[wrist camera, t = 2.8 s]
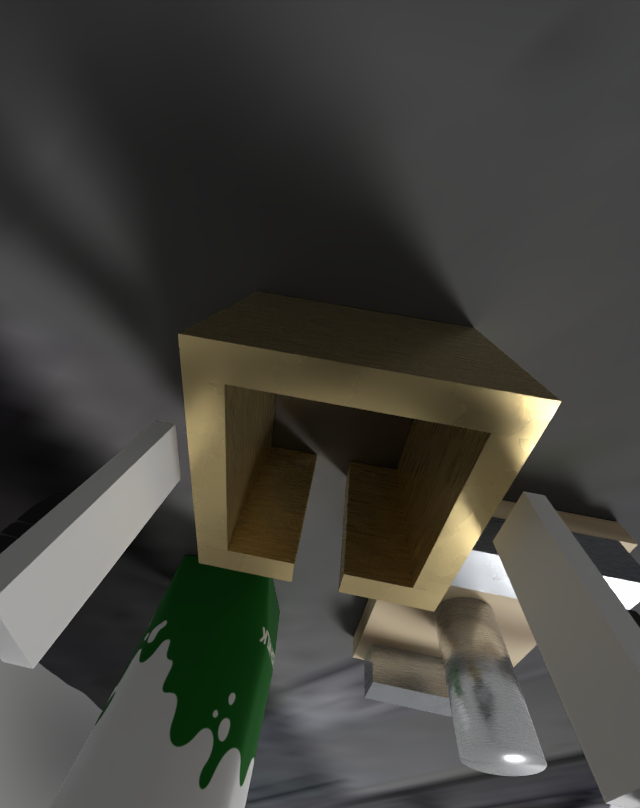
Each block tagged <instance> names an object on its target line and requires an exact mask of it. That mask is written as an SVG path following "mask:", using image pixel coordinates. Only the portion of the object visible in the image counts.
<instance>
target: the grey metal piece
mask: <svg viewBox="0 0 640 808" xmlns="http://www.w3.org/2000/svg"><path fill="white" fill-rule="evenodd" d="M505 521H506V519H503V518H498V517H491V519H490V521H489V522H488V524H487V525H486V527H485V529H484V530H483V532H482V534H481V535H480V537H479V539H478V540H477V542H476V544H475V545H474V547H473V549H472V550H471V552H470V554H469V555H468V557H467V559H466V560H465V562H464V564H463V565H462V567H461V568H460V570H459V572H458V573H457V575H456V577H455V578H454V580H453V582H452V583H451V586H456V587H461V588H466V589H471V590H476V591H481V592H486V593H491V594H496V595H501V596H506V597H511V598H516V599H517V597H516V594H515V592H514V590H513V587H512V585H511V583H510V580H509V578H508V576H507V573H506V571H505V569H504V567H503V564H502V562H501V560H500V557H499V555H498V553H497V550H496V548H495V546H494V543H493V540H494V538H495V537H496V535H497V534H498V532H499V530H500V529H501V527H502V525H503V524H504V522H505ZM571 533H572V534H573V535H574V537H575V538H576V540H577V541H578V542H579V544H580V545H581V547H582V548H583V549H584V551H585V552H586V554H587V555H588V556H589V558H590V559H591V561H592V562H593V563H594V565H595V566H596V568H597V569H598V570H599V572H600V573H601V575H602V576H603V577H604V579H605V580H606V581H607V583H608V584H609V586H610V587H611V588H612V590H613V591H614V593H615V594H616V595H617V597H618V598H619V600H620V601H621V602H622V604H623V605H624V607H625V608H626V609H628V610H630V609H631V608H632V607H633V606H635V605H636V604H637V603H638V602H639V601H640V565H639V564H638V563H637V562H636V561H635V559H634V558H633V557H632V556H631V555H630V553H629V552H628V551H627V550H626V549H625V547H624V546H623V545H622V544H621V543H620V541H617V540H612V539H606V538H601V537H596V536H591V535H586V534H581V533H575V532H571ZM433 615H434V620H435V625H436V631H437V636H438V642H439V647H440V653H441V658H440V657H435V656H431V655H426V654H421V653H417V652H412V651H407V650H402V649H398V648H393V647H388V646H384V645H379V644H374V643H372V645H371V647H370V649H369V651H368V653H367V655H366V658H365V698H368V699H372V700H377V701H382V702H386V703H391V704H395V705H400V706H404V707H409V708H413V709H418V710H423V711H427V712H432V713H436V714H441V715H445V716H450V717H452V718H453V723H454V729H455V734H456V739H457V745H458V750H459V756H460V760H461V761H462V763H463V764H465V765H466V766H468V767H470V768H472V769H475V770H477V771H481V772H485V773H489V774H495V775H503V776H525V775H532V774H536V773H539V772H541V771H543V770H545V768H546V767H547V763H546V761H545V758H544V755H543V752H542V749H541V746H540V743H539V740H538V737H537V735H536V732H535V729H534V726H533V723H532V720H531V717H530V714H529V711H528V709H527V706H526V703H525V700H524V697H523V694H522V691H521V688H520V685H519V682H518V680H517V677H516V674H515V671H514V668H513V665H512V662H511V659H510V656H509V654H508V651H507V648H506V645H505V642H504V639H503V636H502V633H501V630H500V628H499V625H498V622H497V619H496V616H495V613H494V610H493V608H492V607H491V606H490V605H489V604H488V603H486V602H484V601H482V600H479V599H476V598H471V597H455V598H450V599H447V600H444V601H442V602H440V603H439V605H438V606H437V608H436V610H435V611H433Z"/></svg>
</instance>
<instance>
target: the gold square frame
mask: <svg viewBox="0 0 640 808" xmlns="http://www.w3.org/2000/svg"><path fill="white" fill-rule="evenodd" d="M178 341H179V351H180V362H181V373H182V384H183V395H184V406H185V417H186V428H187V439H188V449H189V460H190V471H191V482H192V493H193V504H194V515H195V526H196V537H197V547H198V558H199V563H201V564H206V565H211V566H216V567H221V568H226V569H231V570H235V571H240V572H245V573H250V574H255V575H260V576H264V577H269V578H274V579H279V580H284V581H289V582H292V577H293V572H294V567H295V562H296V557H297V553H298V548H299V543H300V538H301V533H302V528H303V524H304V519H305V514H306V509H307V504H308V499H309V495H310V490H311V485H312V480H313V475H314V470H315V465H316V459H317V455H315V454H310V453H305V452H299V451H294V450H289V449H284V448H278V447H273V446H272V441H273V428H274V415H275V402H276V394H281V395H287V396H292V397H298V398H303V399H309V400H314V401H320V402H325V403H331V404H336V405H342V406H347V407H352V408H358V409H363V410H369V411H374V412H380V413H385V414H391V415H396V416H402V417H407V418H413V419H414V420H413V423H412V426H411V428H410V431H409V434H408V437H407V440H406V443H405V446H404V449H403V452H402V455H401V458H400V460H399V463H398V466H397V469H396V470H394V469H389V468H384V467H379V466H373V465H368V464H363V463H357V462H352V461H350V464H349V468H348V473H347V477H346V491H345V505H344V520H343V534H342V548H341V563H340V577H339V591H338V592H342V593H347V594H351V595H356V596H361V597H366V598H371V599H376V600H380V601H385V602H390V603H395V604H400V605H405V606H409V607H414V608H419V609H424V610H429V611H435V610H436V608H437V606H438V605H439V603H440V602H441V600H442V598H443V597H444V595H445V593H446V592H447V590H448V588H449V587H450V585H451V583H452V582H453V580H454V578H455V577H456V575H457V573H458V572H459V570H460V568H461V567H462V565H463V564H464V562H465V560H466V559H467V557H468V555H469V554H470V552H471V550H472V549H473V547H474V545H475V544H476V542H477V540H478V539H479V537H480V535H481V534H482V532H483V530H484V529H485V527H486V525H487V524H488V522H489V521H490V519H491V517H492V516H493V514H494V512H495V511H496V509H497V507H498V506H499V504H500V502H501V501H502V499H503V497H504V496H505V494H506V492H507V491H508V489H509V487H510V486H511V484H512V483H513V481H514V479H515V478H516V476H517V474H518V473H519V471H520V469H521V468H522V466H523V464H524V463H525V461H526V459H527V458H528V456H529V454H530V453H531V451H532V449H533V448H534V446H535V445H536V443H537V441H538V440H539V438H540V436H541V435H542V433H543V431H544V430H545V428H546V426H547V425H548V423H549V421H550V420H551V418H552V416H553V415H554V413H555V411H556V410H557V408H558V407H559V405H560V403H561V402H562V401H560V400H559V399H558V398H557V397H556V396H554V395H553V394H552V393H551V392H550V391H549V390H547V389H546V388H545V387H544V386H543V385H541V384H540V383H539V382H538V381H537V380H536V379H534V378H533V377H532V376H531V375H530V374H528V373H527V372H526V371H525V370H524V369H522V368H521V367H520V366H519V365H518V364H517V363H515V362H514V361H513V360H512V359H511V358H509V357H508V356H507V355H506V354H505V353H504V352H502V351H501V350H500V349H499V348H498V347H496V346H495V345H494V344H493V343H492V342H491V341H489V340H488V339H487V338H486V337H485V336H483V335H482V334H481V333H480V332H479V331H477V330H476V329H475V328H472V327H466V326H460V325H454V324H448V323H442V322H436V321H430V320H425V319H419V318H413V317H407V316H401V315H395V314H389V313H383V312H377V311H372V310H366V309H360V308H354V307H348V306H342V305H336V304H330V303H324V302H318V301H313V300H307V299H301V298H295V297H289V296H283V295H277V294H271V293H265V292H259V291H256V292H255V293H253V294H251V295H249V296H247V297H245V298H243V299H242V300H240V301H238V302H236V303H234V304H232V305H230V306H228V307H227V308H225V309H223V310H221V311H219V312H217V313H215V314H214V315H212V316H210V317H208V318H206V319H204V320H202V321H200V322H199V323H197V324H195V325H193V326H191V327H189V328H187V329H186V330H184V331H182V332H180V333H178Z"/></svg>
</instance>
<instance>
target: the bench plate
mask: <svg viewBox="0 0 640 808" xmlns="http://www.w3.org/2000/svg"><path fill="white" fill-rule="evenodd" d="M515 504H516V503H515V502H510V501H504V500H502V501H501V502H500V504H499V506H498V507H497V509H496V511H495V512H494V514H493V516H492V517H498V518H503V519H507V517H508V516H509V514H510V512H511V511H512V509H513V508H514V506H515ZM556 512H557V513H558V514H559V516H560V517H561V519H562V520H563V521H564V523H565V524H566V526H567V527H568V528H569V530H570V531H571V532H575V533H581V534H586V535H591V536H596V537H601V538H606V539H612V540H617V541H620V543H621V544H622V545H623V546H624V547H625V549H626V550H627V551H628V552H629V553H630V552H631V551H632V550H633V549H634V548H635V547H636V546H637V545H638V544H637V543H636V542H635V541H634V540H633V538H632V537H631V536H630V535H629V534H628V533H627V532H626V531H625V529H624V528H623V527H622V526H621V525H620V524H619V523H618V522H615V521H610V520H604V519H599V518H594V517H589V516H583V515H578V514H573V513H568V512H562V511H557V510H556ZM455 597H471V598H476V599H479V600H482V601H484V602H486V603H488V604H489V605H490V606H491V607H492V608H493V610H494V613H495V616H496V619H497V622H498V625H499V628H500V630H501V633H502V636H503V639H504V642H505V645H506V648H507V651H508V654H509V656H510V659H511V662H512V665H513V667H514V666H515V665H516V664H517V663H518V662H519V661H520V660H521V659H522V658H523V657H524V656H525V655H526V654H528V653H529V652H530V651H531V650H532V649H533V648H534V647H535V646H536V645H537V643H536V641H535V638H534V636H533V634H532V632H531V629H530V627H529V625H528V622H527V620H526V618H525V615H524V613H523V611H522V608H521V606H520V604H519V601H518V599H516V598H511V597H506V596H501V595H496V594H491V593H486V592H481V591H476V590H471V589H466V588H461V587H456V586H451V585H450V587H449V588H448V590H447V592H446V593H445V595H444V597H443V598H442V600H441V602H442V601H444V600H447V599H450V598H455ZM372 643H374V644H379V645H384V646H388V647H393V648H398V649H402V650H407V651H412V652H417V653H421V654H426V655H431V656H435V657H440V658H441V653H440V647H439V642H438V636H437V631H436V625H435V620H434V615H433V611H429V610H424V609H419V608H414V607H409V606H405V605H400V604H395V603H390V602H385V601H380V600H376V599H371V598H369V599H368V602H367V604H366V607H365V609H364V612H363V615H362V617H361V620H360V622H359V625H358V627H357V630H356V632H355V635H354V638H353V657H354V658H359V659H363V660H365V658H366V655H367V653H368V651H369V649H370V647H371V645H372Z"/></svg>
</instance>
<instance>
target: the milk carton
mask: <svg viewBox="0 0 640 808" xmlns="http://www.w3.org/2000/svg"><path fill="white" fill-rule="evenodd" d="M279 613H280V611H279V606H278V601H277V597H276V592H275V587H274V583H273V578H269V577H264V576H260V575H255V574H250V573H245V572H240V571H235V570H231V569H226V568H221V567H216V566H211V565H206V564H201V563H199V558H198V556H190V555H184V557H183V559H182V561H181V563H180V565H179V567H178V569H177V571H176V573H175V575H174V577H173V579H172V581H171V583H170V585H169V587H168V589H167V591H166V593H165V595H164V597H163V599H162V601H161V603H160V605H159V606H158V608H157V610H156V612H155V614H154V616H153V618H152V620H151V622H150V624H149V626H148V628H147V630H146V632H145V634H144V636H143V638H142V640H141V642H140V643H139V645H138V647H137V649H136V651H135V653H134V654H133V656H132V658H131V660H130V662H129V664H128V665H127V667H126V669H125V671H124V673H123V675H122V676H121V678H120V680H119V682H118V684H117V686H116V687H115V689H114V691H113V693H112V695H111V696H110V698H109V700H108V702H107V704H106V706H105V707H104V709H103V711H102V713H101V715H100V717H99V718H98V720H97V722H96V724H95V726H94V728H93V729H92V731H91V733H90V735H89V737H88V739H87V741H86V742H85V744H84V746H83V748H82V750H81V751H80V753H79V755H78V757H77V759H76V760H75V762H74V764H73V766H72V768H71V770H70V771H69V773H68V775H67V777H66V779H65V781H64V782H63V784H62V786H61V788H60V790H59V792H58V793H57V795H56V797H55V799H54V801H53V802H52V804H51V806H50V808H245V804H246V799H247V794H248V789H249V784H250V779H251V775H252V770H253V765H254V760H255V755H256V750H257V745H258V741H259V736H260V731H261V726H262V721H263V716H264V711H265V707H266V702H267V697H268V692H269V687H270V682H271V677H272V672H273V666H274V657H275V649H276V640H277V631H278V622H279Z"/></svg>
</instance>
